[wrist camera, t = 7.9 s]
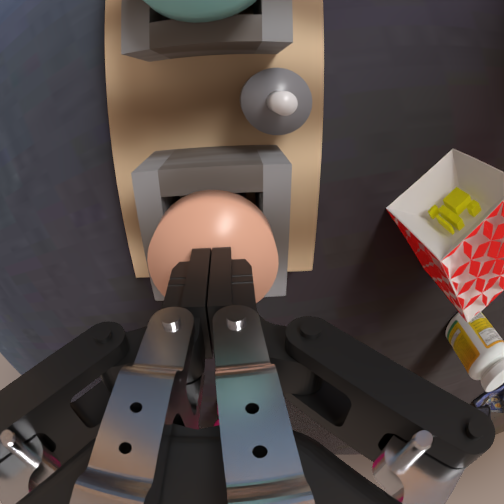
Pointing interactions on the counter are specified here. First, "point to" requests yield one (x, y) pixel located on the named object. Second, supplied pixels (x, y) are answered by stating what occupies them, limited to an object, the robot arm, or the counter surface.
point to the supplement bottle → (478, 349)
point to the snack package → (491, 401)
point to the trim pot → (276, 101)
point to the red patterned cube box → (457, 229)
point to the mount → (213, 119)
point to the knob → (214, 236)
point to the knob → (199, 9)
